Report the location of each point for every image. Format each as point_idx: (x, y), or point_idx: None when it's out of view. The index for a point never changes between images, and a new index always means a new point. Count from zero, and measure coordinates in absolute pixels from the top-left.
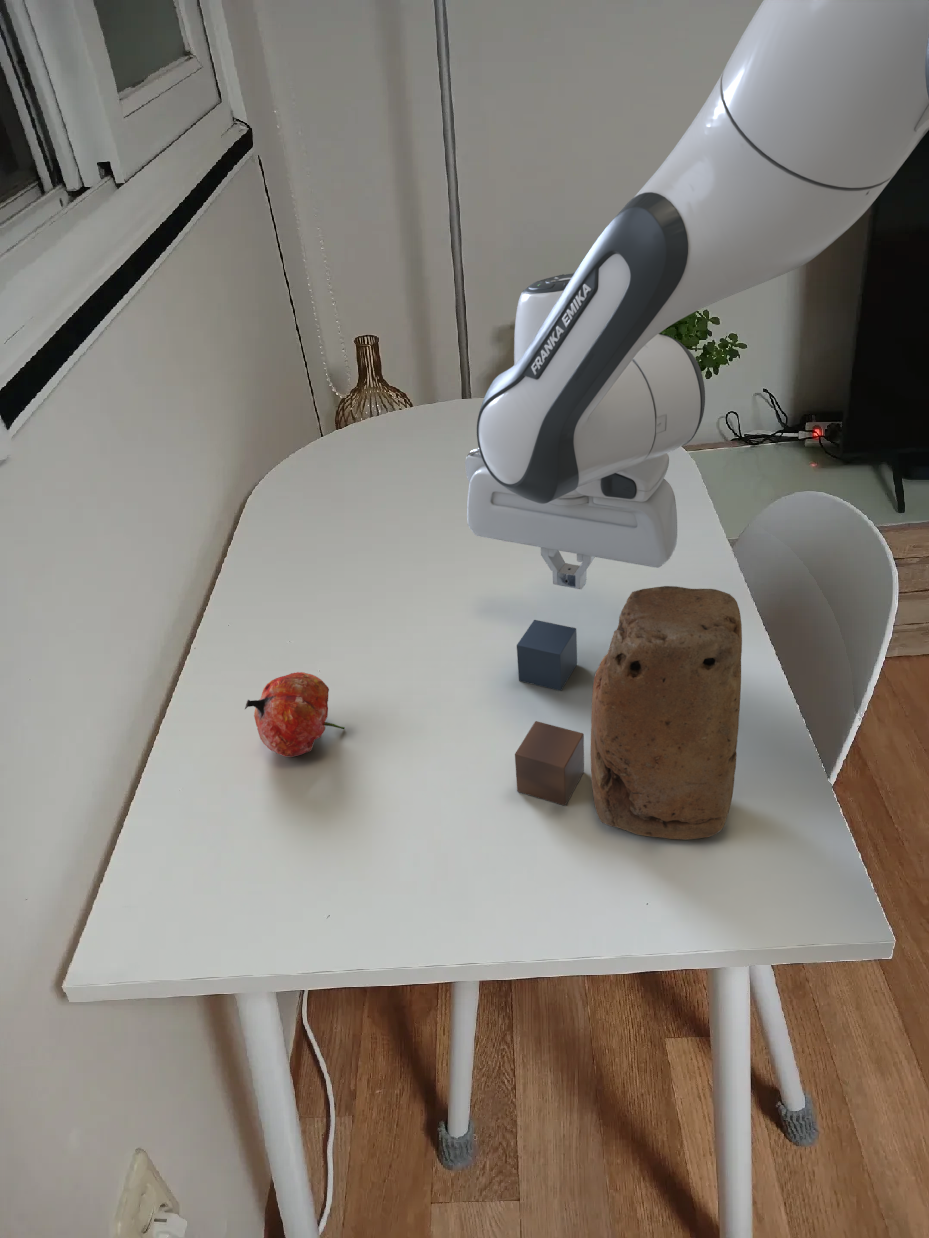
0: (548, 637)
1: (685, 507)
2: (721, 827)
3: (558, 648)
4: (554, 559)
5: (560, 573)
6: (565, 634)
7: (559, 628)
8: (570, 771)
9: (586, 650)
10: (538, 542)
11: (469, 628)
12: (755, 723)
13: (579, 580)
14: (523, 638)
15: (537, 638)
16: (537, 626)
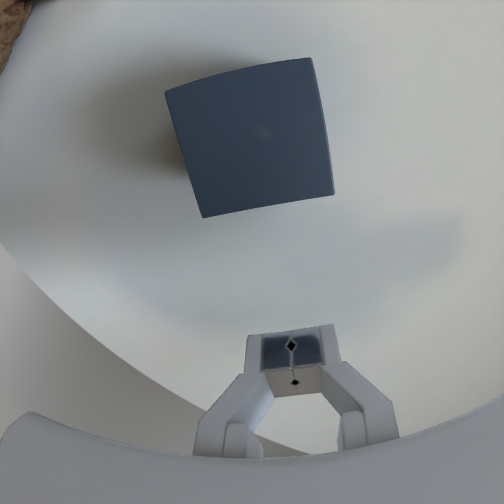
0: (244, 138)
1: (284, 437)
2: None
3: (185, 111)
4: (344, 400)
5: (312, 363)
6: (210, 178)
7: (242, 192)
8: None
9: (233, 224)
10: (408, 461)
11: (456, 182)
12: (3, 216)
13: (247, 359)
14: (312, 95)
15: (272, 115)
16: (308, 169)
